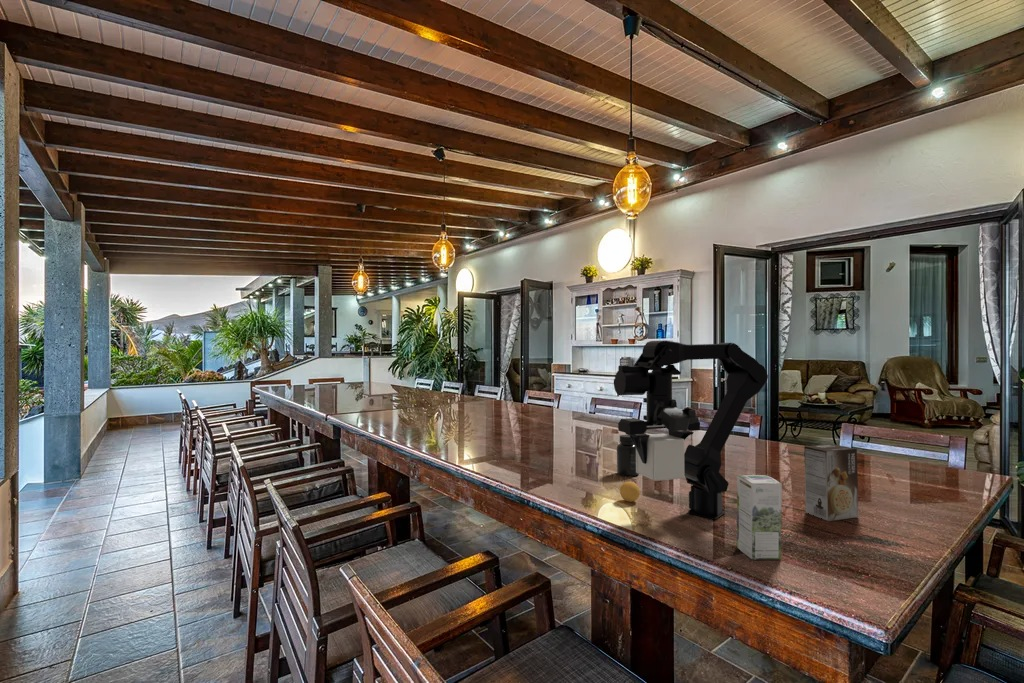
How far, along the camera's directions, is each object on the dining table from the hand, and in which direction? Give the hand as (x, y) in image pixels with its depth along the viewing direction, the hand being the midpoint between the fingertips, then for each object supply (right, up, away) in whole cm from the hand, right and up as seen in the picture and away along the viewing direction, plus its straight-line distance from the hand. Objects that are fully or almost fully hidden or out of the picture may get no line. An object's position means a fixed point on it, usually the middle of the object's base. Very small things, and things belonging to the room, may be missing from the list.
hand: (659, 462), depth 111 cm
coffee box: (+41, -13, +2) cm, 43 cm away
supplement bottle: (+2, -14, +39) cm, 42 cm away
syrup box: (+13, -13, -20) cm, 27 cm away
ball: (-4, -11, +12) cm, 17 cm away
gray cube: (0, -3, 0) cm, 3 cm away
